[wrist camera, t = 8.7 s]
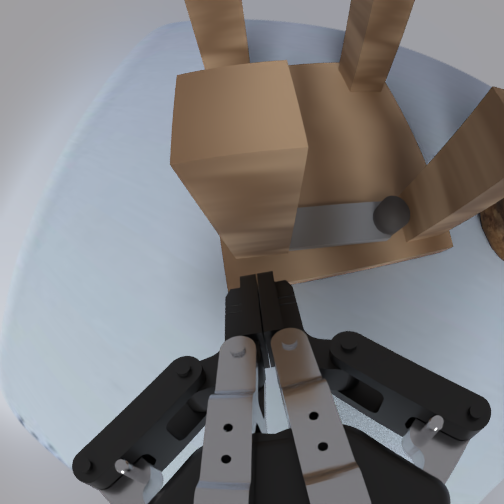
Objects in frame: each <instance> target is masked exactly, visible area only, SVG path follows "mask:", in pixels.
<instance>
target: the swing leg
mask: <svg viewBox="0 0 504 504" xmlns="http://www.w3.org/2000/svg"><path fill="white" fill-rule="evenodd" d="M307 153H308V143H307V138H306V134H305V130H304V125H303V121H302V117H301V113H300V108H299V104H298V100H297V96H296V92H295V89H294V85H293V81H292V77H291V74H290V70H289V66H288V63H287V60H282V61H267V62H256V63H247V64H239V65H231V66H224V67H218V68H212V69H206V70H200V71H195V72H190V73H185V74H181V75H177V79H176V88H175V99H174V110H173V122H172V137H171V155H170V165H171V167H172V168H173V170H174V171H175V173H176V174H177V175H178V177H179V178H180V180H181V181H182V183H183V184H184V186H185V187H186V188H187V190H188V191H189V193H190V194H191V196H192V197H193V198H194V200H195V201H196V203H197V204H198V206H199V207H200V209H201V210H202V211H203V213H204V214H205V216H206V217H207V218H208V220H209V221H210V223H211V224H212V226H213V227H214V228H215V230H216V231H217V233H218V234H219V235H220V237H221V238H222V240H223V241H224V243H225V244H226V245H227V247H228V248H229V250H230V251H231V252H232V254H233V255H234V257H235V258H236V259H239V258H249V257H259V256H269V255H278V254H288V252H289V251H295V250H305V249H314V248H324V247H333V246H343V245H352V244H362V243H371V242H381V241H387V240H389V239H390V238H391V236H392V235H393V234H395V233H396V232H397V231H399V230H400V229H401V228H403V227H404V226H405V225H407V223H408V222H409V219H410V210H409V207H408V205H407V204H406V202H405V201H404V200H403V199H401V198H400V197H397V196H388V197H386V198H384V199H383V201H377V202H362V203H349V204H336V205H323V206H312V207H301V208H297V207H298V202H299V197H300V191H301V186H302V181H303V175H304V170H305V164H306V158H307Z"/></svg>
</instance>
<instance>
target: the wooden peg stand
mask: <svg viewBox="0 0 504 504" xmlns="http://www.w3.org/2000/svg"><path fill="white" fill-rule="evenodd" d="M414 1H415V0H351V4H350V11H349V16H348V21H347V27H346V32H345V38H344V43H343V48H342V53H341V58H340V62H339V63H313V64H299V65H288V66H289V70H290V74H291V77H292V81H293V85H294V89H295V92H296V96H297V100H298V104H299V108H300V113H301V117H302V121H303V125H304V130H305V134H306V138H307V143H308V153H307V158H306V164H305V170H304V175H303V181H302V186H301V191H300V197H299V202H298V207H297V208H301V207H312V206H323V205H336V204H349V203H362V202H377V201H383V199H384V198H386V197H388V196H397V197H400V198H401V199H403V200H404V201H405V202H406V204H407V205H408V207H409V210H410V219H409V222H408V223H407V225H405V226H404V227H403V228H401V229H400V230H399V231H397V232H396V233H395V234H393V235H392V236H391V238H390V239H389V240H387V241H381V242H371V243H362V244H352V245H343V246H333V247H324V248H314V249H305V250H295V251H289V252H288V254H278V255H269V256H259V257H249V258H239V259H236V258H235V257H234V255H233V254H232V252H231V251H230V250H229V248H228V247H227V245H226V244H225V243H224V241H223V240H222V238H221V237H220V241H221V248H222V255H223V262H224V268H225V275H226V282H227V288H228V292H229V291H230V289H235V288H240V276H246V275H252V274H256V278H257V273H263V272H269V271H273V276H274V281H275V282H276V281H282V280H286V281H287V282H288V283H289V284H290V285H291V284H297V283H302V282H307V281H312V280H318V279H323V278H328V277H333V276H337V275H342V274H347V273H352V272H357V271H361V270H366V269H371V268H375V267H380V266H384V265H389V264H393V263H398V262H402V261H406V260H411V259H415V258H419V257H423V256H427V255H432V254H436V253H440V252H442V251H444V250H447V249H449V248H451V247H453V243H452V240H451V236H450V232H449V230H450V229H452V228H454V227H456V226H457V225H459V224H461V223H463V222H464V221H466V220H468V219H470V218H471V217H473V216H475V215H476V214H478V213H480V212H482V211H483V210H485V209H487V208H488V207H490V206H491V205H493V204H495V203H496V202H498V201H500V200H501V199H503V198H504V89H500V88H497V87H492V88H491V89H490V90H489V92H488V93H487V94H486V96H485V97H484V98H483V99H482V101H481V102H480V103H479V104H478V106H477V107H476V108H475V109H474V111H473V112H472V113H471V114H470V116H469V117H468V118H467V119H466V121H465V122H464V123H463V124H462V125H461V127H460V128H459V129H458V130H457V131H456V133H455V134H454V135H453V136H452V137H451V138H450V140H449V141H448V142H447V143H446V144H445V145H444V147H443V148H442V149H441V150H440V151H439V152H438V153H437V155H436V156H435V157H434V158H433V159H432V160H431V161H430V162H429V164H428V165H426V163H425V160H424V158H423V156H422V153H421V151H420V149H419V146H418V144H417V142H416V140H415V138H414V135H413V133H412V131H411V129H410V127H409V125H408V123H407V121H406V119H405V117H404V115H403V113H402V111H401V109H400V107H399V106H398V104H397V102H396V100H395V98H394V96H393V95H392V93H391V91H390V89H389V88H388V86H387V84H386V83H385V81H386V78H387V76H388V73H389V71H390V68H391V65H392V63H393V60H394V58H395V55H396V52H397V50H398V47H399V44H400V41H401V39H402V36H403V33H404V30H405V27H406V25H407V21H408V19H409V16H410V13H411V10H412V7H413V4H414ZM185 3H186V7H187V10H188V13H189V17H190V20H191V24H192V27H193V30H194V34H195V37H196V40H197V44H198V47H199V50H200V54H201V57H202V60H203V64H204V67H205V70H206V69H212V68H218V67H224V66H231V65H239V64H247V63H250V60H249V52H248V44H247V37H246V29H245V21H244V14H243V7H242V0H185ZM257 283H258V280H257Z"/></svg>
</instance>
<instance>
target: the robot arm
mask: <svg viewBox="0 0 504 504" xmlns="http://www.w3.org/2000/svg"><path fill="white" fill-rule="evenodd" d="M257 280H258V283H257ZM225 306H226V308H225V314H226V315H225V342H224V343H223V344H222V346H221V348H220V351H219V352H218V353H217V354H215V355H214V356H211V357H209V358H207V359H204V360H201V361H199V360H198V359H196V358H194V357H191V356H184V357H180V358H178V359H176V360H174V361H173V362H172V363H171V364H170V365H169V366H168V367H167V368H166V369H165V370H164V371H163V372H162V373H161V374H160V375H159V376H158V377H157V378H156V379H155V380H154V381H153V382H152V383H151V384H150V385H149V386H148V387H147V388H146V389H145V390H144V391H143V392H142V393H141V394H140V395H138V396H137V397H136V398H135V399H134V400H133V401H132V402H131V403H130V404H129V405H128V406H127V407H126V408H125V409H124V410H123V411H122V412H121V413H120V414H119V415H118V416H117V417H116V418H115V419H114V420H113V421H112V422H111V423H110V424H108V425H107V426H106V427H105V428H104V429H103V430H102V431H101V432H100V433H99V434H98V435H97V436H96V437H95V438H94V439H93V440H92V441H91V442H90V443H88V444H87V445H86V446H85V447H84V448H83V449H82V450H81V451H80V452H79V453H78V454H77V455H76V456H75V458H74V460H73V464H72V469H73V473H74V475H75V476H76V478H77V479H78V480H80V481H81V482H83V483H86V484H88V485H90V486H92V487H93V488H95V489H97V490H99V491H100V492H101V493H102V494H103V496H104V497H105V498H106V499H107V500H108V501H109V502H110V504H450V495H449V491H448V489H447V487H446V486H445V483H446V481H447V480H448V478H449V476H450V475H451V473H452V471H453V470H454V468H455V466H456V464H457V463H458V461H459V459H460V457H461V455H462V454H463V452H464V450H465V448H466V446H467V444H468V442H469V440H470V439H471V438H472V437H473V436H475V435H476V434H477V433H478V432H479V431H480V430H482V429H483V428H484V427H485V426H486V425H487V424H488V422H489V420H490V417H491V408H490V405H489V403H488V401H487V400H486V399H485V398H484V397H482V396H480V395H478V394H476V393H474V392H472V391H470V390H468V389H466V388H464V387H462V386H460V385H458V384H456V383H454V382H452V381H450V380H448V379H446V378H444V377H442V376H440V375H438V374H436V373H434V372H432V371H430V370H428V369H426V368H424V367H422V366H420V365H418V364H416V363H414V362H412V361H410V360H408V359H406V358H404V357H402V356H400V355H399V354H397V353H395V352H393V351H391V350H389V349H387V348H385V347H383V346H381V345H379V344H377V343H376V342H374V341H372V340H370V339H368V338H366V337H364V336H362V335H360V334H358V333H356V332H351V331H346V332H341V333H339V334H337V335H336V336H334V337H333V339H332V340H324V339H317V338H314V337H311V336H310V335H308V334H307V333H306V332H305V330H304V328H303V325H302V321H301V318H300V314H299V310H298V306H297V303H296V298H295V295H294V291H293V287H292V286H291V285H290V284H289V283H288V282H287V281H286V280H282V281H276V282H275V281H274V276H273V271H269V272H263V273H257V278H256V274H252V275H246V276H240V288H235V289H230V291H229V292H228V294H227V296H226V302H225ZM268 354H269V357H268ZM269 358H270V363H271V367H275V368H276V373H277V379H278V384H279V388H280V392H281V396H282V400H283V405H284V409H285V413H286V417H287V422H288V426H289V429H286V430H284V431H281V432H279V433H276V434H268V431H267V424H266V383H265V380H266V377H265V368H270V365H269ZM331 393H332V394H333V395H335V396H336V397H338V398H339V399H341V400H343V401H344V402H346V403H347V404H349V405H350V406H352V407H354V408H355V409H357V410H358V411H360V412H362V413H363V414H365V415H366V416H368V417H370V418H371V419H373V420H375V421H376V422H378V423H380V424H381V425H383V426H385V427H386V428H388V429H390V430H392V431H393V432H395V433H397V434H398V435H400V436H402V437H403V438H402V449H403V451H404V452H405V454H407V455H408V456H409V457H410V458H411V459H412V460H413V462H414V464H412V463H411V462H409V461H407V460H406V459H404V458H403V457H401V456H399V455H398V454H396V453H395V452H393V451H391V450H390V449H388V448H387V447H385V446H384V445H382V444H381V443H379V442H378V441H376V440H374V439H373V438H371V437H370V436H369V435H367V434H366V433H364V432H362V431H361V430H359V429H357V428H354V427H351V426H348V425H344V424H342V422H341V419H340V416H339V413H338V410H337V408H336V405H335V402H334V399H333V396H332V394H331ZM204 426H205V433H204V442H203V446H202V447H200V448H199V449H197V450H196V451H195V452H194V453H193V454H192V455H191V456H190V457H189V458H188V459H187V461H186V462H185V463H184V464H183V465H182V466H181V467H180V469H179V470H178V471H177V472H176V473H175V474H174V475H173V476H172V478H171V479H170V480H169V481H168V482H167V483H166V484H165V485H164V486H163V488H162V489H161V487H162V485H163V475H162V471H163V470H164V469H165V468H166V467H167V466H168V465H169V464H170V463H171V462H172V461H173V460H174V459H175V457H176V456H177V455H178V454H179V453H180V452H181V451H182V450H183V449H184V448H185V447H186V446H187V445H188V444H189V442H190V441H191V440H192V439H193V438H194V437H195V436H196V435H197V434H198V433H199V431H200V430H201V429H202V428H203V427H204ZM160 489H161V490H160ZM159 490H160V491H159ZM158 491H159V492H158Z"/></svg>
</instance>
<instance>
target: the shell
mask: <svg viewBox="0 0 504 504" xmlns="http://www.w3.org/2000/svg"><path fill="white" fill-rule="evenodd" d="M480 215H481V223H482V228H483V230H484V232H485V235H486V237H487V239H488V241H489V243H490V245H491V247H492V249H493V250H494V251H495V252H496V254H497V255H498V256H499V257H500V258H501V259H502V260H503V261H504V198H503V199H501V200H500V201H498V202H496V203H495V204H493V205H491V206H490V207H488V208H487V209H485V210H483V211H482V212H480Z"/></svg>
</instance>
